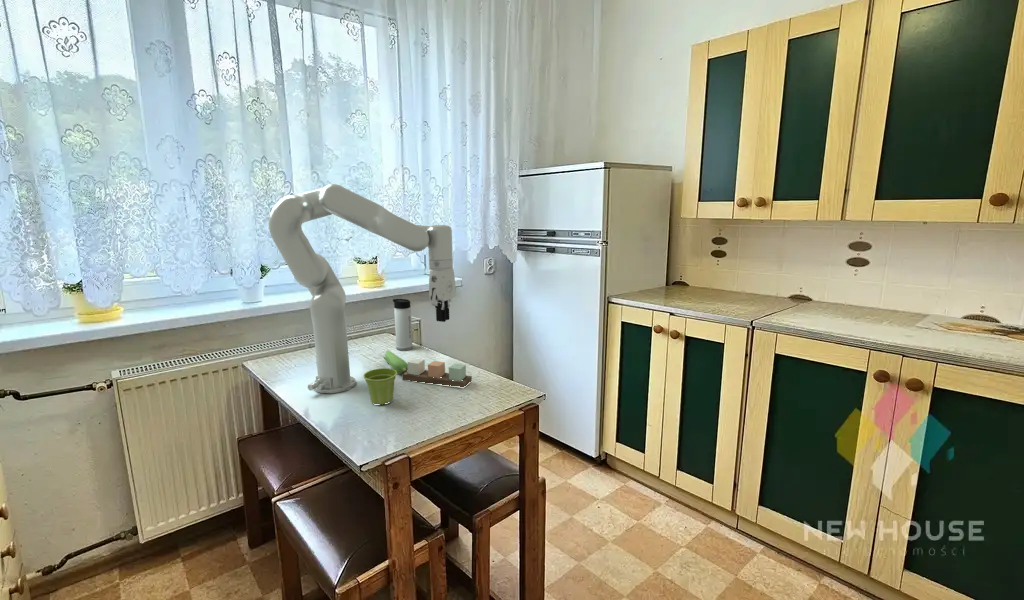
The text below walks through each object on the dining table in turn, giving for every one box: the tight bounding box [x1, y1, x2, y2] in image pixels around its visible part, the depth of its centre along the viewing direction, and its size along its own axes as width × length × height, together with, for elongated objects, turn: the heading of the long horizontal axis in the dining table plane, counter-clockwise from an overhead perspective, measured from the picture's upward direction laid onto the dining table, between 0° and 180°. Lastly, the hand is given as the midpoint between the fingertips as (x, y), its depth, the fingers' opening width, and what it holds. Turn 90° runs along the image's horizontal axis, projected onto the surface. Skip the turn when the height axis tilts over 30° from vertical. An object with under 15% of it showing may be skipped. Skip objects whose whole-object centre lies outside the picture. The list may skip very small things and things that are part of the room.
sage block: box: [448, 363, 467, 382], centre depth 155 cm, size 4×4×4 cm
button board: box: [401, 369, 473, 387], centre depth 158 cm, size 6×22×2 cm, turn 70°
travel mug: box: [392, 298, 414, 352], centre depth 190 cm, size 6×7×20 cm
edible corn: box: [382, 350, 408, 375], centre depth 171 cm, size 5×20×5 cm
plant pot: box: [362, 367, 398, 405], centre depth 142 cm, size 9×9×9 cm
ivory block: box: [406, 358, 426, 376], centre depth 160 cm, size 4×4×4 cm
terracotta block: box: [427, 360, 446, 379], centre depth 158 cm, size 4×4×4 cm
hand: (442, 320), depth 160 cm, fingers closed
